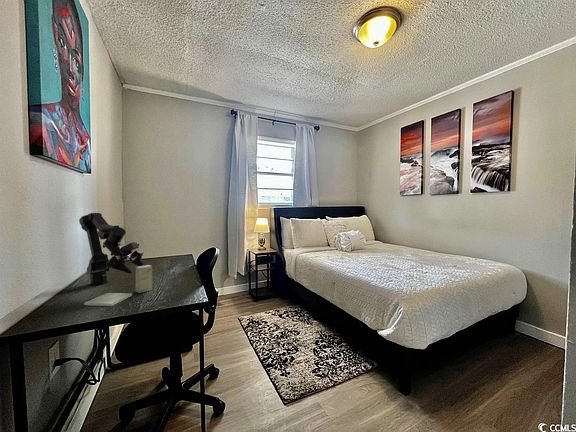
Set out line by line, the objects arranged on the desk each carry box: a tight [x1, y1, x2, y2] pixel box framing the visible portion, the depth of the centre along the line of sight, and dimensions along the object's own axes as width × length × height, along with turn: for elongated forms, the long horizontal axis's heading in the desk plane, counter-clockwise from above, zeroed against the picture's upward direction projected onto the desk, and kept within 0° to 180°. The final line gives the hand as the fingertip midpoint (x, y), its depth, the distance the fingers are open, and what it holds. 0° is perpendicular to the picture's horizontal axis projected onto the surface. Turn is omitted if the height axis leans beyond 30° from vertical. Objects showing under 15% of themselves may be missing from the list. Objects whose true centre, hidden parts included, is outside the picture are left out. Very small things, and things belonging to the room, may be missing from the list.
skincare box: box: [135, 264, 153, 294], centre depth 118 cm, size 6×4×12 cm
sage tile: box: [83, 292, 133, 307], centre depth 105 cm, size 12×12×1 cm
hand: (137, 270), depth 118 cm, fingers open, 9 cm apart
